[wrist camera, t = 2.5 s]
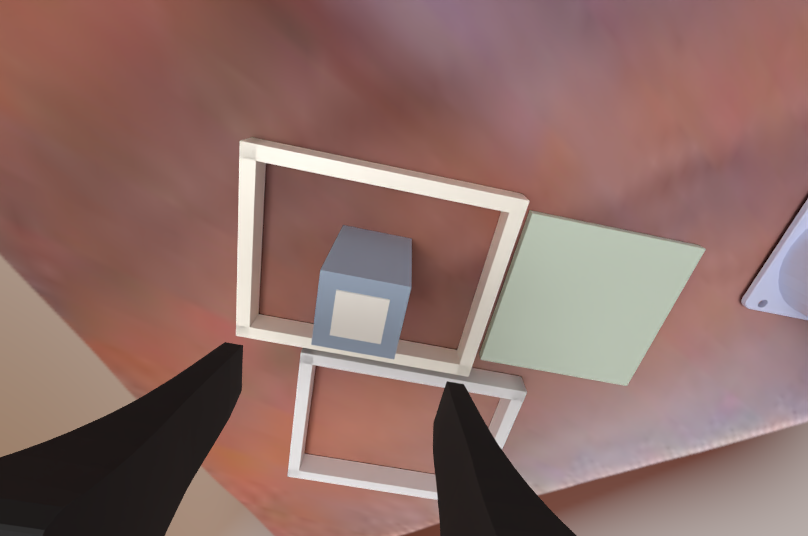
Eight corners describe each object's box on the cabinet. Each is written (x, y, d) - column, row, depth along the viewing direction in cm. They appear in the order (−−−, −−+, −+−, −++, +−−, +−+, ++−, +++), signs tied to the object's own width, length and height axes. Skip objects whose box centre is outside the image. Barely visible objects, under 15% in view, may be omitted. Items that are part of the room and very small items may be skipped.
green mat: (698, 244, 22) (705, 249, 22) (622, 379, 26) (626, 386, 26) (529, 210, 21) (532, 213, 21) (479, 353, 26) (480, 359, 25)
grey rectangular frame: (521, 376, 26) (527, 392, 25) (474, 487, 31) (477, 506, 30) (306, 338, 25) (300, 352, 24) (293, 458, 30) (287, 476, 29)
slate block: (411, 238, 22) (411, 288, 17) (398, 297, 24) (394, 360, 19) (343, 224, 22) (320, 271, 17) (334, 285, 24) (310, 346, 18)
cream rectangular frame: (522, 193, 21) (529, 200, 20) (465, 361, 26) (468, 376, 25) (251, 137, 20) (239, 140, 19) (245, 322, 25) (235, 335, 24)
